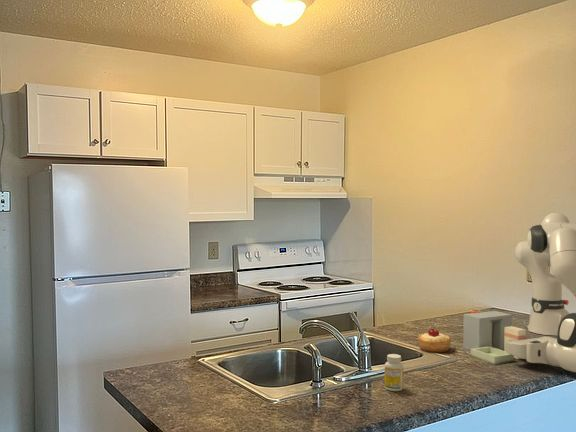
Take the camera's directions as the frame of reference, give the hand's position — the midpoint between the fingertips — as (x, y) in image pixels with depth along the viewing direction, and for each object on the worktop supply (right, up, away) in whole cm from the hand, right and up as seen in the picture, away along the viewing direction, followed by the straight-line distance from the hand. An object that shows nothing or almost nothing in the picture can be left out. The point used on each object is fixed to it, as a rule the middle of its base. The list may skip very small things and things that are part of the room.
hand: (515, 341), depth 191 cm
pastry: (-26, -6, +10) cm, 28 cm away
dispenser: (-5, -5, +12) cm, 14 cm away
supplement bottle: (-49, -6, -33) cm, 60 cm away
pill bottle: (-5, -5, +27) cm, 28 cm away
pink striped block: (0, -6, 0) cm, 6 cm away
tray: (-9, -6, -2) cm, 11 cm away
